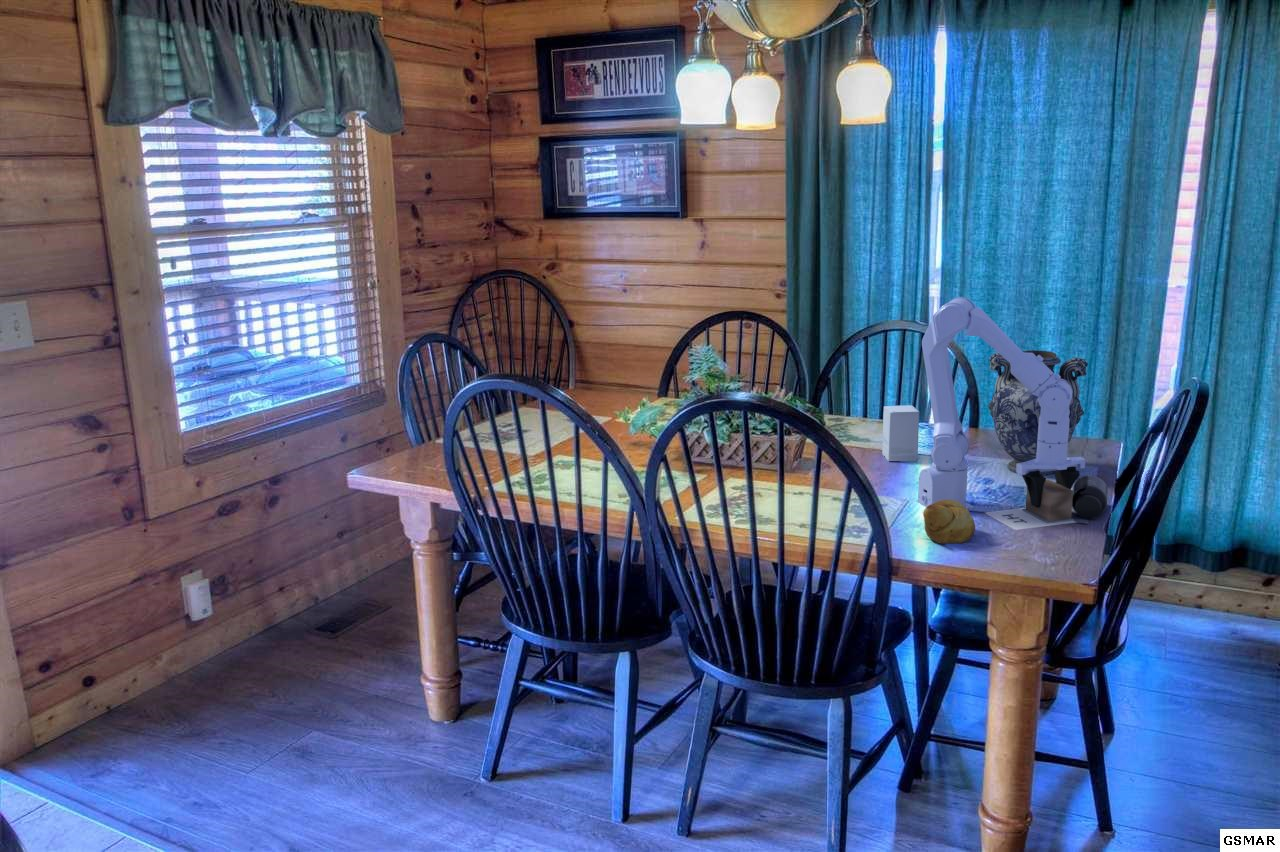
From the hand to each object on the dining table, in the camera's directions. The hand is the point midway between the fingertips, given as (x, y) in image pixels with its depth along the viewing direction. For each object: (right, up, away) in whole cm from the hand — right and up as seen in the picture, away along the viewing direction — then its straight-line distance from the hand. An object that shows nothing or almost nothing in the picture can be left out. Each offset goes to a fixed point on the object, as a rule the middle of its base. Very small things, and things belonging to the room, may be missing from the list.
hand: (1048, 504), depth 210 cm
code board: (-4, -3, 0) cm, 5 cm away
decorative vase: (+9, +6, +34) cm, 35 cm away
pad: (0, -2, +1) cm, 2 cm away
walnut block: (0, -2, 0) cm, 2 cm away
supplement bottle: (+12, +3, +7) cm, 14 cm away
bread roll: (-23, -6, -8) cm, 25 cm away
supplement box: (-19, +8, +46) cm, 51 cm away
